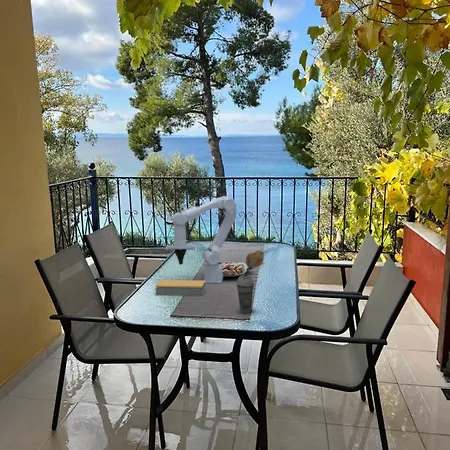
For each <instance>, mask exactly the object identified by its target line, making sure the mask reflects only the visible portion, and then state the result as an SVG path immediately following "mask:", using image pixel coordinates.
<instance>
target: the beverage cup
mask: <svg viewBox="0 0 450 450" xmlns="http://www.w3.org/2000/svg"><path fill="white" fill-rule="evenodd" d="M241 269H242V270H241V271H242V275H240V276H239V277H238V278H237V281H236V289H237V294H238V302H239V303H238V306H239V310H240V313H241V314H250V313H251V312H252V307H253V306H252V304H253V291H254V285H255V283H254V279H253V278H252V276H250V275H249V274H245V270H244V264H243V263H242V264H241Z"/></svg>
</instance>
